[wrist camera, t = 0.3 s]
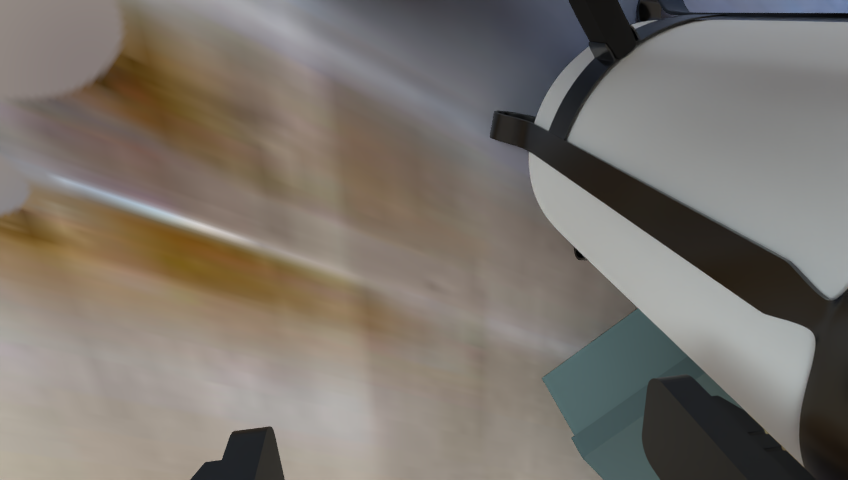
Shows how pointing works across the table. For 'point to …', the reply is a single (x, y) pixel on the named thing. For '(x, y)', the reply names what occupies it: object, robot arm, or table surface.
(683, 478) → the robot arm
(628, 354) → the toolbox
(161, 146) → the table surface
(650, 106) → the coffee press
